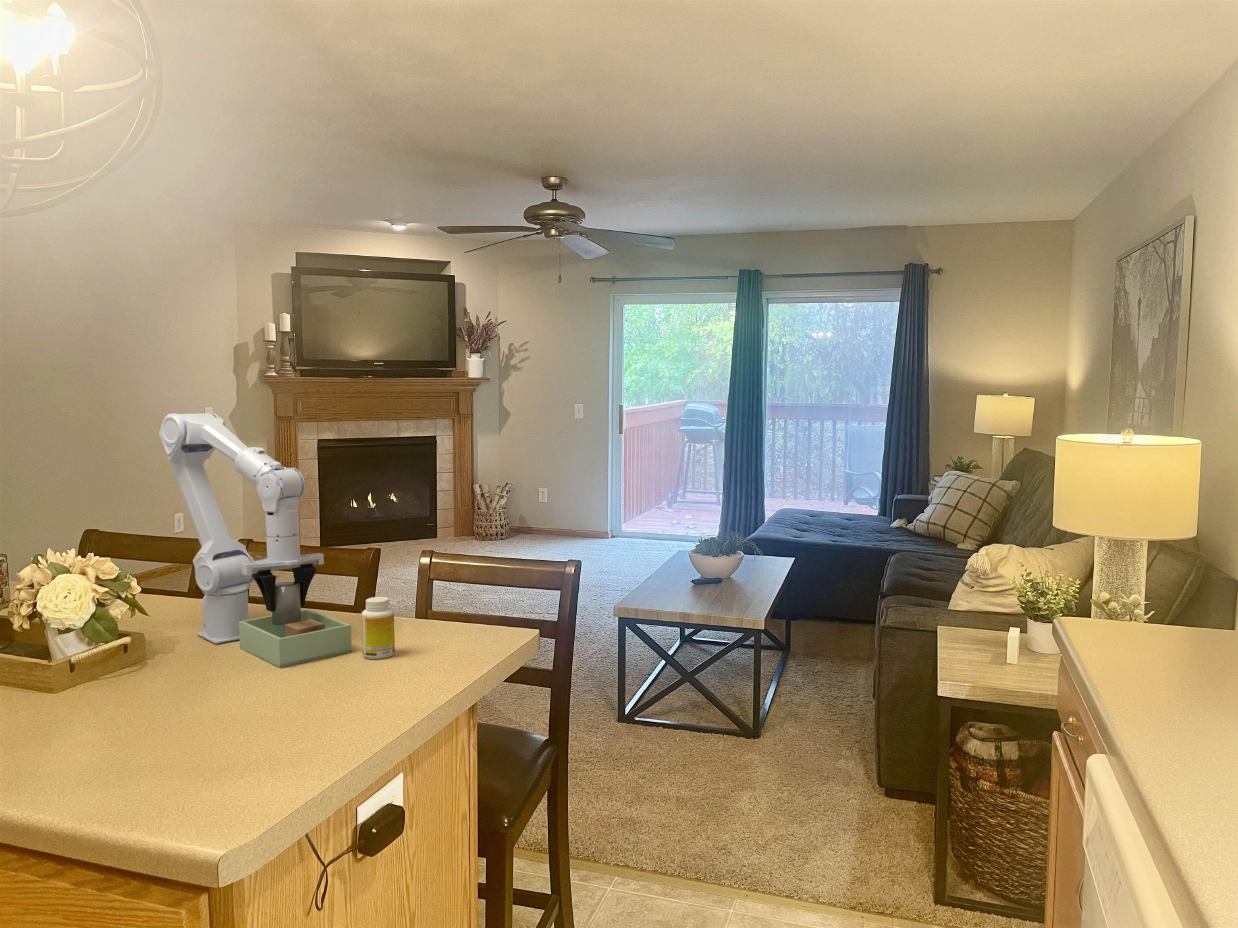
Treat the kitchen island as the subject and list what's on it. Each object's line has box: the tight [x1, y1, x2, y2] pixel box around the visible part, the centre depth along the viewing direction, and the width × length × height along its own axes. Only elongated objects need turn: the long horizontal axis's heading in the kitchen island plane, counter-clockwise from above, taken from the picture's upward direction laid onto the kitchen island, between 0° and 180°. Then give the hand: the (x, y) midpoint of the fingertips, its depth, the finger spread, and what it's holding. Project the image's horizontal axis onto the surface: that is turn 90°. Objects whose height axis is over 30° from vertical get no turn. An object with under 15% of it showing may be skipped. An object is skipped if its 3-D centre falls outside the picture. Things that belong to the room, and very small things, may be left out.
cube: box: [285, 619, 325, 637], centre depth 159 cm, size 5×5×5 cm
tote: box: [239, 608, 353, 669], centre depth 162 cm, size 17×13×5 cm
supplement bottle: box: [361, 596, 396, 660], centre depth 158 cm, size 6×6×10 cm
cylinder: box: [271, 581, 302, 625], centre depth 164 cm, size 5×5×7 cm
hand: (285, 607), depth 164 cm, fingers closed on cylinder, 5 cm apart
